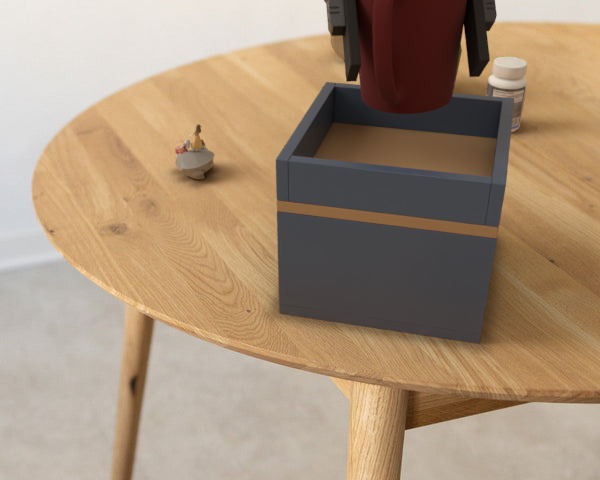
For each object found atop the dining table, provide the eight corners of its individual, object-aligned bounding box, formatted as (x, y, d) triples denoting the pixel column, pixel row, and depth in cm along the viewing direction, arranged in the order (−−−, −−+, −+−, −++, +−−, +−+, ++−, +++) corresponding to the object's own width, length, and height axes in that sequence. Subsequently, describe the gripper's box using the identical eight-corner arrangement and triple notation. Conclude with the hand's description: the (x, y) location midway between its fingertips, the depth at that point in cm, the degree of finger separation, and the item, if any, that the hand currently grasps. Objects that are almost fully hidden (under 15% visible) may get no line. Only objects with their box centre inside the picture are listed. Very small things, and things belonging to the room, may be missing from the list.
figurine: (204, 186, 86) (200, 136, 83) (168, 180, 88) (162, 130, 84) (222, 166, 91) (219, 117, 87) (188, 161, 92) (183, 112, 88)
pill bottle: (485, 117, 102) (494, 53, 97) (522, 122, 101) (533, 57, 96) (478, 130, 99) (487, 65, 94) (515, 136, 97) (527, 70, 92)
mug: (438, 142, 57) (447, -15, 50) (324, 129, 60) (318, -22, 53) (471, 81, 66) (483, -60, 59) (370, 72, 69) (370, -63, 62)
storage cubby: (491, 239, 77) (514, 98, 69) (479, 344, 64) (506, 184, 55) (323, 218, 81) (326, 81, 72) (279, 313, 67) (275, 159, 59)
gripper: (508, -164, 66) (539, 87, 62) (253, -161, 64) (270, 97, 61) (540, -239, 59) (578, 41, 55) (254, -237, 57) (273, 51, 53)
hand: (417, 70), depth 58 cm, fingers closed on mug, 9 cm apart
